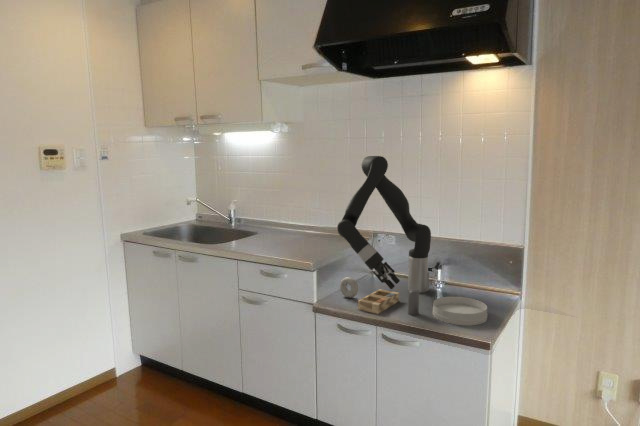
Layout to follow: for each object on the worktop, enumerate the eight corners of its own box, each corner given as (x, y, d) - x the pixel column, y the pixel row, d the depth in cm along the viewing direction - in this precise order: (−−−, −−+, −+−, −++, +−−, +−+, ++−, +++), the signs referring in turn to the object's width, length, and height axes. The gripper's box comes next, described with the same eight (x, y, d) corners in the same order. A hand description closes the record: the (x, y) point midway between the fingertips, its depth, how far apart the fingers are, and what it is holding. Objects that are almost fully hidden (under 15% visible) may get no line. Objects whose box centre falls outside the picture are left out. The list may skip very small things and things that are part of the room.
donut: (359, 298, 219) (359, 278, 217) (355, 300, 216) (355, 279, 215) (342, 294, 225) (342, 274, 224) (338, 296, 222) (338, 276, 221)
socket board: (379, 297, 221) (379, 288, 220) (398, 301, 215) (399, 292, 214) (357, 309, 205) (357, 299, 204) (378, 313, 199) (378, 304, 198)
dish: (446, 303, 212) (446, 293, 211) (495, 314, 198) (495, 303, 197) (423, 317, 195) (423, 306, 194) (475, 330, 181) (475, 318, 181)
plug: (414, 311, 202) (415, 288, 200) (420, 314, 198) (421, 291, 196) (406, 312, 200) (406, 290, 199) (411, 316, 196) (412, 293, 195)
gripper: (371, 254, 195) (398, 284, 192) (380, 247, 208) (405, 275, 205) (359, 265, 198) (385, 295, 195) (369, 258, 211) (393, 285, 208)
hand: (395, 285), depth 200 cm, fingers open, 8 cm apart
